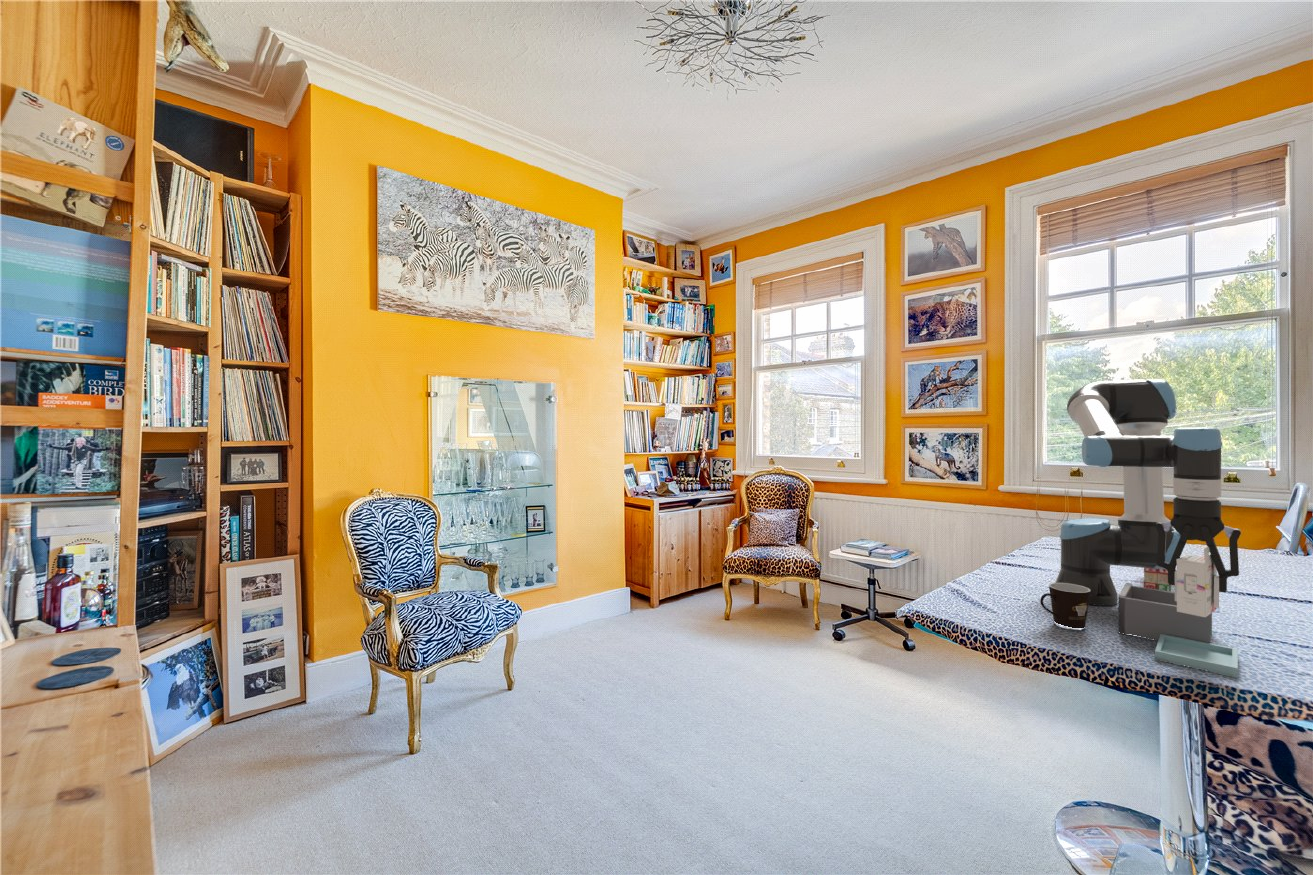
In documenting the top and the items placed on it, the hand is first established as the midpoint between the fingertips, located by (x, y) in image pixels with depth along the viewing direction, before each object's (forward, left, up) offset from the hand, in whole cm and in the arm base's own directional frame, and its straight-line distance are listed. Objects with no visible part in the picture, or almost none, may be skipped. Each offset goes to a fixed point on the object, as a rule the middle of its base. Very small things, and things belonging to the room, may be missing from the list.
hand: (1196, 602), depth 122 cm
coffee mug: (-25, +5, -13) cm, 28 cm away
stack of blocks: (-11, +66, -13) cm, 69 cm away
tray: (0, 0, -13) cm, 13 cm away
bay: (-6, +15, -13) cm, 20 cm away
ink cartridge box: (0, 0, -2) cm, 2 cm away
